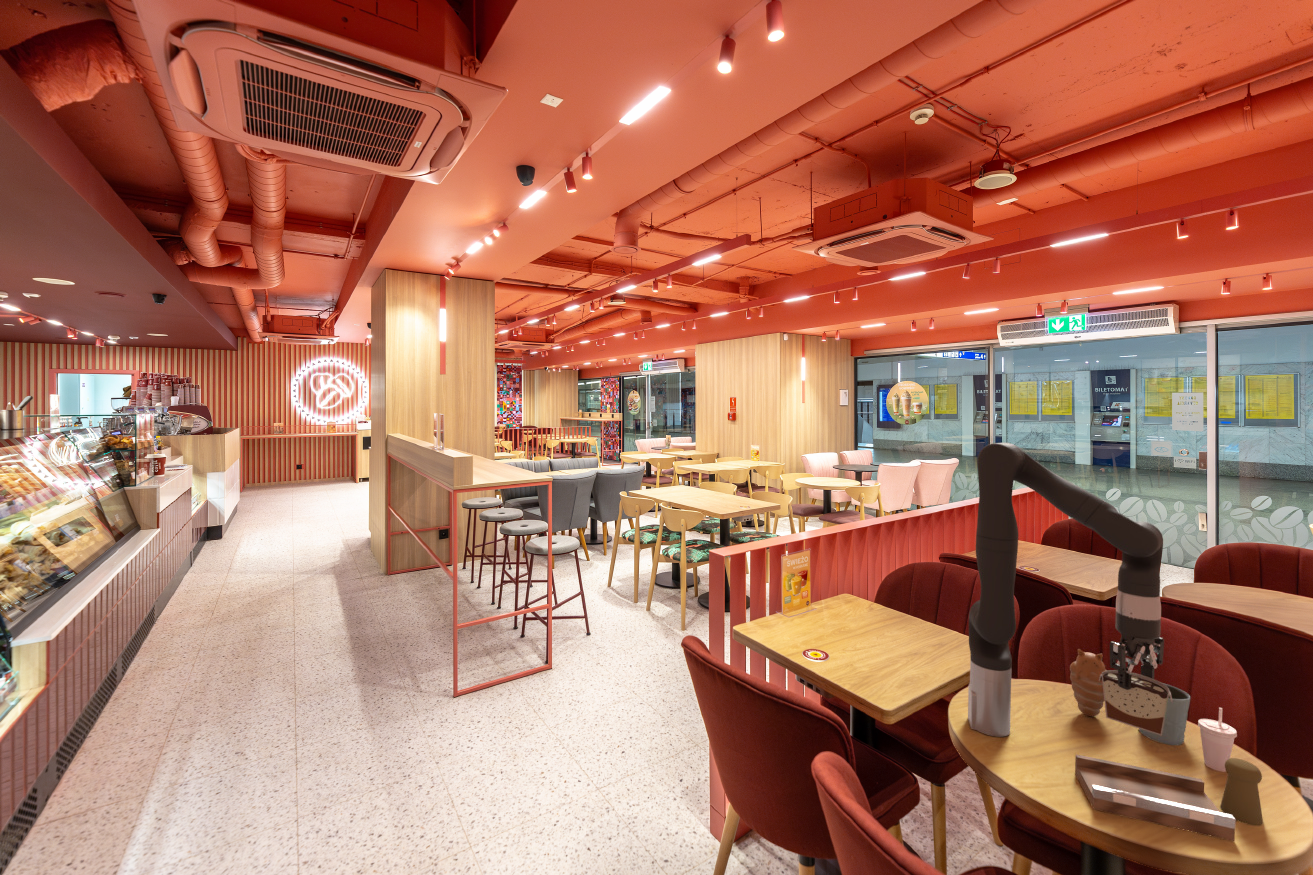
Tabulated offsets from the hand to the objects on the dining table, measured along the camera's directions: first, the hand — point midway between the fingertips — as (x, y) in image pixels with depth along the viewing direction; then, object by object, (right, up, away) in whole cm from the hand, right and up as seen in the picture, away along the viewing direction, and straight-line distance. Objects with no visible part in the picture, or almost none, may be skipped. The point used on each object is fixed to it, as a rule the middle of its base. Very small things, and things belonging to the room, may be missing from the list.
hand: (1136, 685), depth 121 cm
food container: (0, -8, 0) cm, 8 cm away
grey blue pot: (+23, -21, +18) cm, 36 cm away
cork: (+13, -22, -10) cm, 28 cm away
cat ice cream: (+11, -21, +27) cm, 36 cm away
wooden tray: (-3, -22, -7) cm, 23 cm away
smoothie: (+24, -22, +6) cm, 33 cm away
